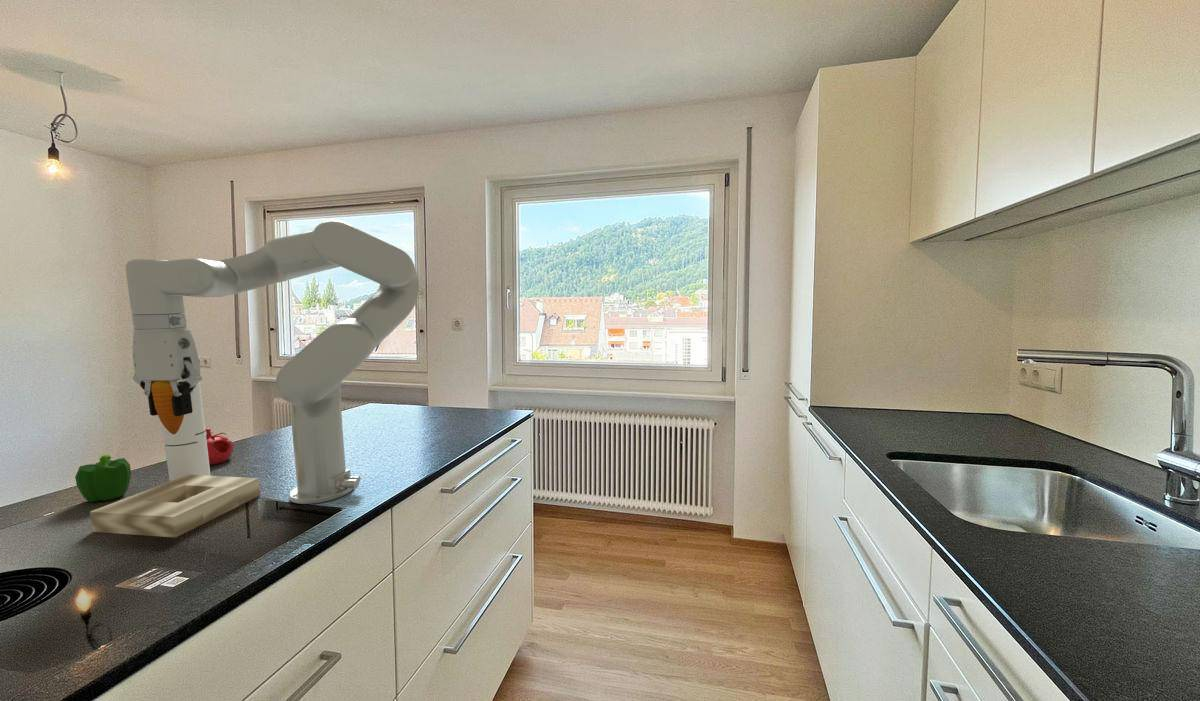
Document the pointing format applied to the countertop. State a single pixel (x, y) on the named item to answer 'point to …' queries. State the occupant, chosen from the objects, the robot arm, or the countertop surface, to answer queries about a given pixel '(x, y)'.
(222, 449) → the pomegranate
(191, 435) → the cylindrical container
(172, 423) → the carrot
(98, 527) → the maple block
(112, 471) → the bell pepper
